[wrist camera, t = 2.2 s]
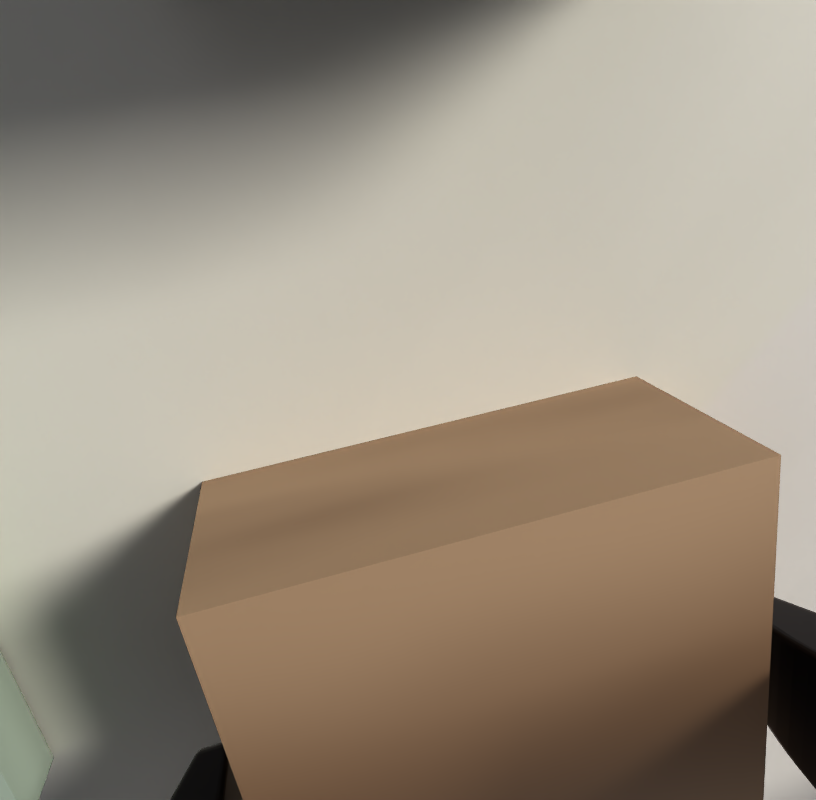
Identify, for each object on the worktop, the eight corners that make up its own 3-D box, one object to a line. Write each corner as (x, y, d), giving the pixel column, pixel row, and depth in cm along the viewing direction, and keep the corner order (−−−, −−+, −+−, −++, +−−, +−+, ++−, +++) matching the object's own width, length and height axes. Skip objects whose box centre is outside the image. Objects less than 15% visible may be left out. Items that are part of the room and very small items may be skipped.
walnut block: (641, 728, 12) (757, 900, 9) (318, 834, 11) (336, 1058, 8) (626, 370, 9) (781, 455, 6) (204, 471, 8) (176, 617, 6)
